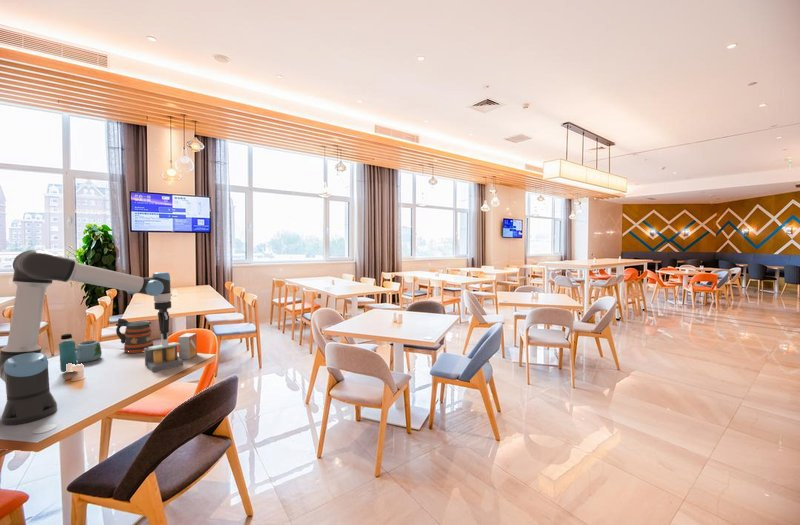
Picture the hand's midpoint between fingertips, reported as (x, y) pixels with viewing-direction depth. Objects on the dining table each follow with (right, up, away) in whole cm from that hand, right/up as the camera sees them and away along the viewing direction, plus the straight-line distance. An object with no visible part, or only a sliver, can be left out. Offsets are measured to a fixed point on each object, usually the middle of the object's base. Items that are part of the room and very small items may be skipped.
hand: (164, 344), depth 192 cm
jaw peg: (+1, -12, +5) cm, 12 cm away
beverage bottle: (-44, -13, -8) cm, 46 cm away
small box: (+3, -11, +16) cm, 20 cm away
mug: (-50, -11, +9) cm, 52 cm away
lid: (-2, -1, +2) cm, 3 cm away
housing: (-1, -12, +2) cm, 12 cm away
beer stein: (-37, -10, +28) cm, 47 cm away
